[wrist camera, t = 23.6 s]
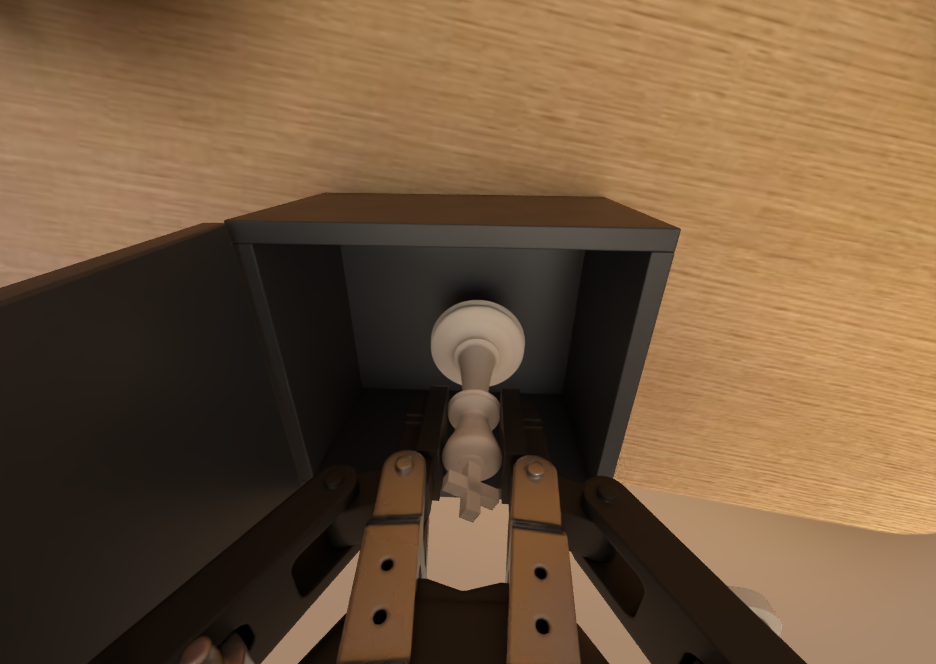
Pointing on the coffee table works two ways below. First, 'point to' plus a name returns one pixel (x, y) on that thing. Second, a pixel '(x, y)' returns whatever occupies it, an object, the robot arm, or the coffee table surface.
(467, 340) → the chess piece
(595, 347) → the case
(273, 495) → the lid
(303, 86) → the coffee table surface
